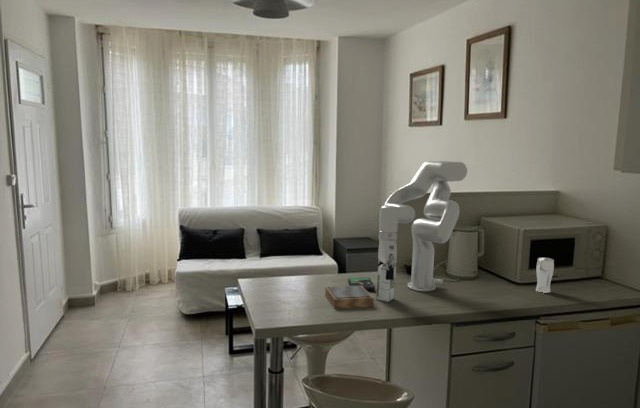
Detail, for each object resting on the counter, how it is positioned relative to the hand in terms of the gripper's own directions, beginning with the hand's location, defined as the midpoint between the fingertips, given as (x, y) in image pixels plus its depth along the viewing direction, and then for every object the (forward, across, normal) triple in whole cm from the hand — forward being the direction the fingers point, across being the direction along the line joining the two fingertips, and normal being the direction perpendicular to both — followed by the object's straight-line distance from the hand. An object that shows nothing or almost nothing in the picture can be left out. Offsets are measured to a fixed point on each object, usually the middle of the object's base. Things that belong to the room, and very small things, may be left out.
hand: (385, 276), depth 195 cm
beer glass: (+8, 0, -76) cm, 76 cm away
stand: (+10, +1, +15) cm, 18 cm away
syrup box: (+10, +1, -1) cm, 10 cm away
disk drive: (+10, +18, +4) cm, 22 cm away
